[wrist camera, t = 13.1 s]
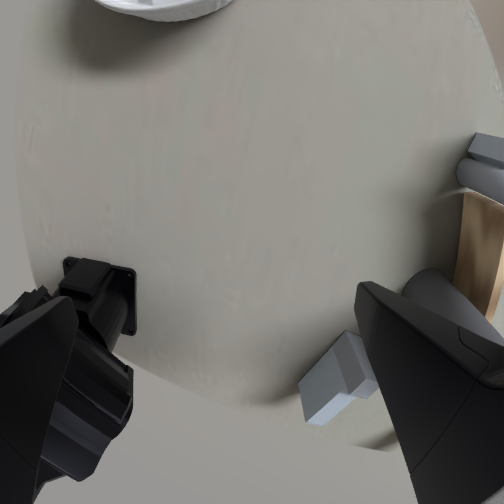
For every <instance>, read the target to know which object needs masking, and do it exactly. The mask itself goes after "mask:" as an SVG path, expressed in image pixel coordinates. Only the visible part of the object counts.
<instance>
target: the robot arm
mask: <svg viewBox="0 0 504 504" xmlns="http://www.w3.org/2000/svg"><path fill="white" fill-rule="evenodd" d="M68 262H70V264H71V265H70V264H69V263H68ZM63 267H64V276H65V277H64V278H63V279H62V281H61V282H60V283H59V284H58V287H59V288H58V289H57V290H56V291H55V292H54V293H53V295H52V296H51V295H50V294H49V293H48V292H47V291H48V290H47V289H46V288H45V287H44V286H43V285H42V286H41V287H40V288H39V289H38V290H36V289H34V290H33V291H32V292H31V293H30V292H24V293H23V294H22V295H21V296H20V297H19V298H18V299H17V301H16V302H15V303H14V304H13V305H12V306H10V307H9V308H8V309H6V310H5V311H4V312H2V313H1V314H0V504H33V503H34V501H35V499H36V498H37V495H38V494H39V492H40V490H41V489H42V487H43V486H44V484H45V483H47V482H50V481H53V480H55V479H58V478H61V477H64V476H66V475H67V476H69V477H70V478H72V479H74V480H76V481H78V482H79V481H82V480H84V479H86V478H87V477H89V476H90V475H92V474H93V473H94V471H95V469H96V467H97V465H98V463H99V460H100V458H101V456H102V454H103V453H104V451H105V449H106V448H107V446H108V445H109V443H110V442H111V440H113V439H114V438H115V437H117V436H118V435H119V433H120V432H121V431H122V430H123V429H124V427H125V426H126V424H127V422H128V421H129V418H130V416H131V413H132V409H133V369H132V368H131V367H130V366H128V365H125V364H124V363H123V362H121V361H120V360H119V359H118V358H117V357H115V356H114V355H113V354H112V351H113V348H114V346H115V344H116V342H117V340H118V337H119V335H120V333H121V334H126V335H130V336H133V335H135V334H136V331H137V313H136V277H137V275H136V272H135V271H134V270H133V269H131V268H126V267H120V266H115V265H111V264H109V263H106V262H101V261H96V260H91V259H86V258H82V259H79V258H74V257H66V258H65V259H64V261H63ZM128 274H131V275H132V277H130V276H128ZM354 311H355V315H356V319H357V322H358V326H359V330H360V333H361V337H362V340H363V344H364V348H365V351H366V354H367V357H368V360H369V362H370V365H371V367H372V370H373V372H374V375H375V377H376V380H377V383H378V385H379V388H380V390H381V393H382V396H383V398H384V401H385V404H386V406H387V409H388V412H389V415H390V417H391V420H392V423H393V426H394V429H395V432H396V434H397V437H398V440H399V443H400V446H401V449H402V452H403V455H404V458H405V461H406V464H407V467H408V470H409V473H410V478H411V481H412V484H413V487H414V491H415V494H416V497H417V501H418V504H504V346H502V345H500V344H497V343H495V342H493V341H491V340H489V339H486V338H484V337H482V336H480V335H478V334H476V333H474V332H472V331H470V330H468V329H466V328H464V327H462V326H460V325H459V326H458V325H457V324H456V323H454V322H452V321H450V320H448V319H446V318H444V317H442V316H440V315H439V314H437V313H435V312H433V311H431V310H429V309H427V308H425V307H423V306H421V305H419V304H417V303H415V302H413V301H411V300H409V299H407V298H405V297H403V296H401V295H399V294H397V293H395V292H393V291H390V290H388V289H386V288H384V287H382V286H380V285H378V284H376V283H374V282H372V281H367V282H360V283H359V284H358V286H357V291H356V298H355V304H354ZM130 329H131V330H133V331H131V330H130Z"/></svg>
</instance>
